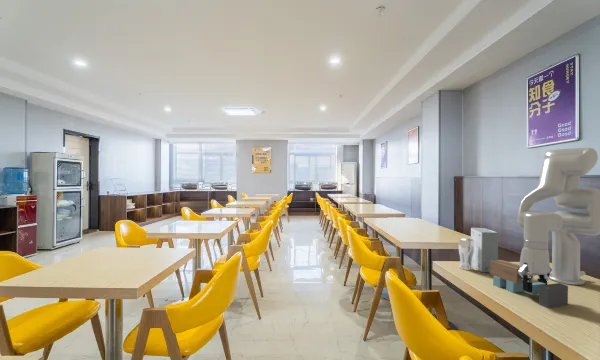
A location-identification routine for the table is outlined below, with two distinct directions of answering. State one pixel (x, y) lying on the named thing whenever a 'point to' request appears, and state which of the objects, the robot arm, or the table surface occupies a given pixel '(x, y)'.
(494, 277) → the block
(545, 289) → the block
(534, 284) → the batten
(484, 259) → the hard drive box
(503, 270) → the slab
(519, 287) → the block
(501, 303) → the table surface
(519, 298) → the table surface
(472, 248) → the beer glass
